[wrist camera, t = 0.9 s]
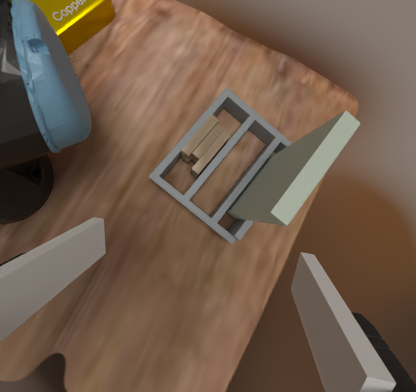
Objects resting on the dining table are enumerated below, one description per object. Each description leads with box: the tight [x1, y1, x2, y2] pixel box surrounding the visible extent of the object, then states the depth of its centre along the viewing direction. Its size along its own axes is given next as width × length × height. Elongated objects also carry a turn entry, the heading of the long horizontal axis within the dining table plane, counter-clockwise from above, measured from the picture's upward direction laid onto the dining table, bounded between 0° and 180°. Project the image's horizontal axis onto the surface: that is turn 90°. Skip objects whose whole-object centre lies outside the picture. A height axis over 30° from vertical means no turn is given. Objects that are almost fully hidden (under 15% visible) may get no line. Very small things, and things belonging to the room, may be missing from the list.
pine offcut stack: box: [181, 114, 231, 178], centre depth 35 cm, size 4×9×6 cm, turn 141°
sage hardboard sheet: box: [226, 111, 360, 226], centre depth 29 cm, size 2×13×20 cm, turn 142°
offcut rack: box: [149, 88, 292, 244], centre depth 35 cm, size 18×21×6 cm
